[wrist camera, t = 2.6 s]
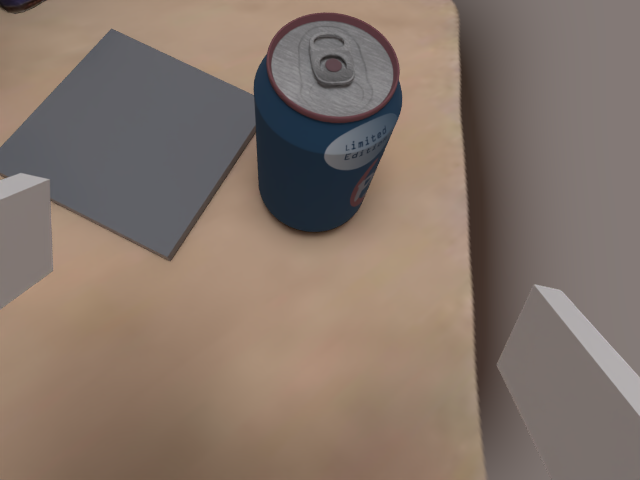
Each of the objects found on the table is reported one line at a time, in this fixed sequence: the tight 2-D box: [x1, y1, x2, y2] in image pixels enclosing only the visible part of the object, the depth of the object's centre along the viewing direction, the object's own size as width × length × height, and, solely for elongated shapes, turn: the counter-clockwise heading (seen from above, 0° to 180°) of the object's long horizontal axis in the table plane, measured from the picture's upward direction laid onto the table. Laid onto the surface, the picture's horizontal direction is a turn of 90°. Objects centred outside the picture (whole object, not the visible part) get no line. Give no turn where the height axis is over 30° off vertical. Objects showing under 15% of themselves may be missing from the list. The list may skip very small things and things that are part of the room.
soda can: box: [254, 13, 402, 232], centre depth 24 cm, size 7×7×12 cm
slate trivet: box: [0, 29, 256, 261], centre depth 30 cm, size 13×13×1 cm
